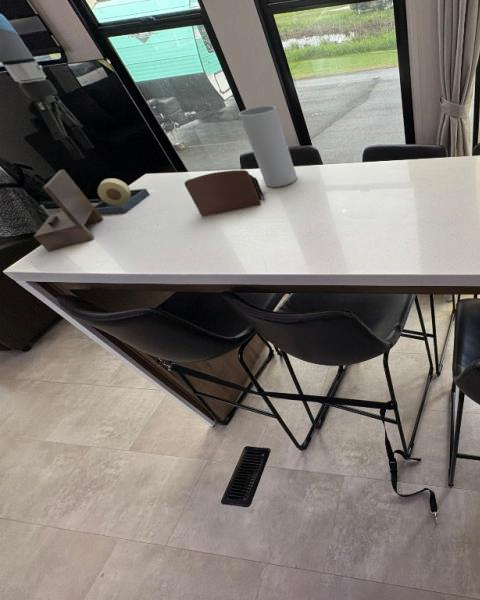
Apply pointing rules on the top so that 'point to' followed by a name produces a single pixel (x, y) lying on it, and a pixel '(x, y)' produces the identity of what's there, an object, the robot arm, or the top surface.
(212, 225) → the top surface
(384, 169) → the top surface
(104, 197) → the tape roll
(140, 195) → the tray
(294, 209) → the top surface
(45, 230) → the stand
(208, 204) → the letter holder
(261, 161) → the cylinder vase
